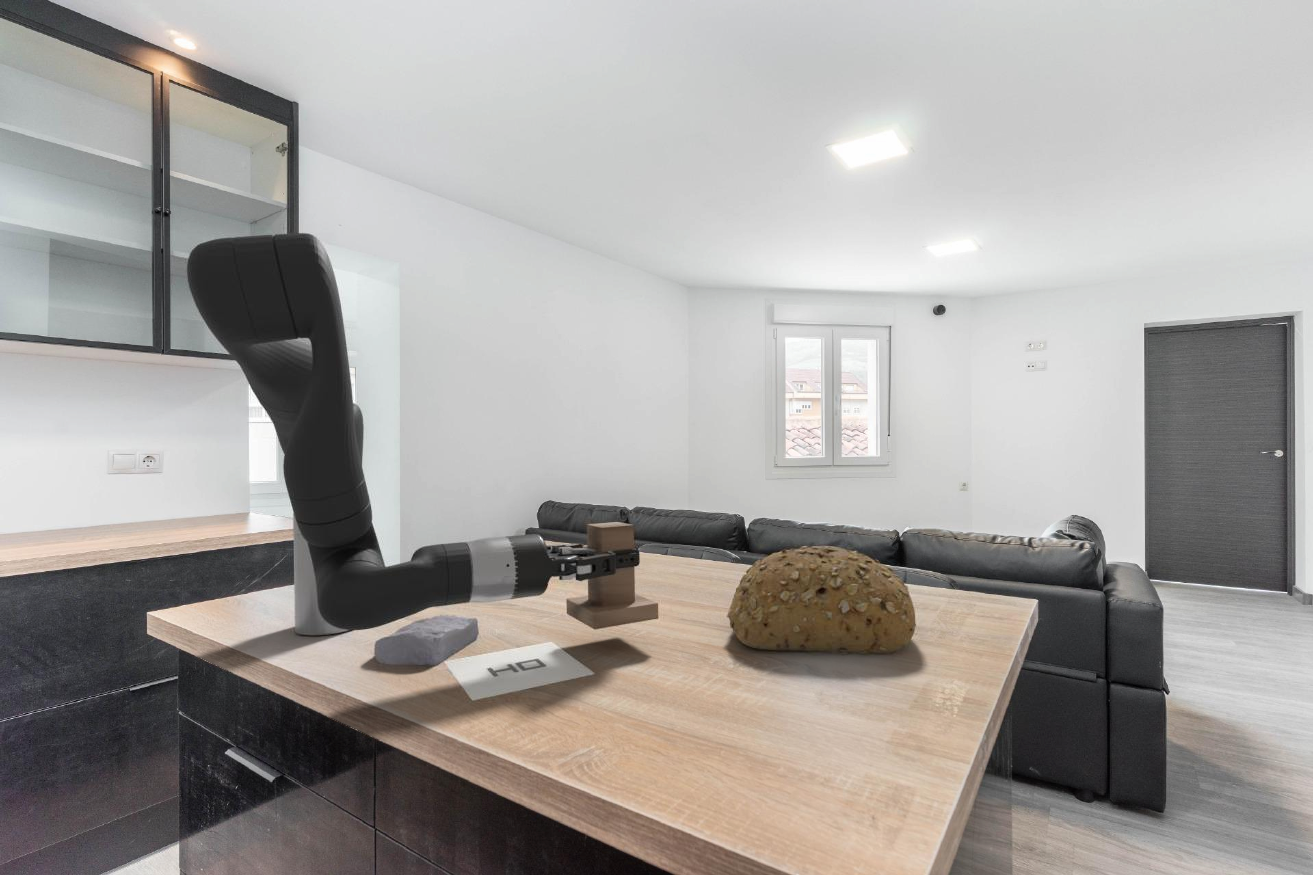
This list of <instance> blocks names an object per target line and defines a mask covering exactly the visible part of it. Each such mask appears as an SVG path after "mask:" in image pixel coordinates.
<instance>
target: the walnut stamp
mask: <svg viewBox="0 0 1313 875" xmlns="http://www.w3.org/2000/svg"><path fill="white" fill-rule="evenodd" d="M634 533H635V526H634V524H629V523H624V522H620V521H614V522H613V521H612V522H610V521H609V522H602V523H601V522H599V523H587V524H586V538H587V539H586V545H587V547H588V548H593V549H594V550H595V551H607V550H611V551H617V550H627V549H635V534H634ZM587 555H588V557H589V554H587ZM604 566H605V560H603V562H602V567H604ZM635 576H636V575H635V567H627V568H619V569H616V574H613V575H607V576H602V577H597V578H592V579H587V595H584V596H583V595H582V596H576V597H571V598H568V597H567V598H566V614H567V615H568V616H570V617H572V618H573V619H576V620H577V621H578V622H580V623H582V624H584V625H586V626H588V627H589V628H591V629H593V630H600V629H605V628H612V627H618V626H625V625H629V624H635V623H639V622H640V623H641V622H646V621H647V622H648V621H653V620H658V619H659V603H658V602H656V601H654V600H653V599H652V600H651V599H648V598H647V597H644V596H641V595H640V594H637V593H636V590H635V589H636V585H635V583H636V582H635V580H636V578H635Z"/></svg>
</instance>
